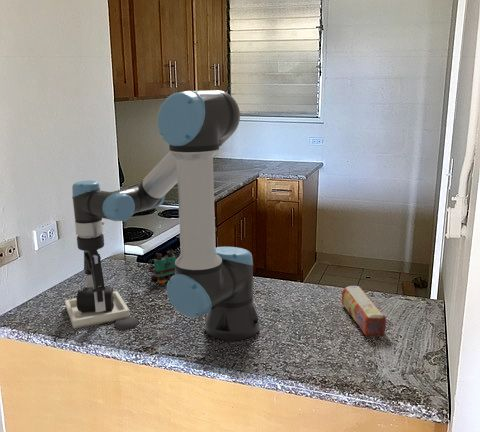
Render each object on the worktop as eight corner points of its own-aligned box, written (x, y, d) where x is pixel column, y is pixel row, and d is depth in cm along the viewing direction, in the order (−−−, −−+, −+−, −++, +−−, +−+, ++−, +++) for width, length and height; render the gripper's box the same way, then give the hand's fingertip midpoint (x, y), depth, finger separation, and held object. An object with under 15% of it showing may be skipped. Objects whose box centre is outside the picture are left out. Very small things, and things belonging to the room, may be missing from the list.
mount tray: (129, 317, 154) (129, 310, 153) (73, 328, 147) (72, 321, 147) (117, 298, 168) (117, 291, 167) (65, 307, 161) (65, 300, 161)
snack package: (387, 337, 140) (388, 314, 138) (363, 338, 140) (364, 315, 138) (361, 304, 161) (362, 284, 159) (340, 305, 160) (341, 285, 158)
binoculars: (163, 246, 189) (178, 249, 181) (166, 274, 190) (181, 279, 183) (141, 251, 183) (156, 255, 175) (145, 280, 185) (159, 285, 177)
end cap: (77, 316, 154) (75, 295, 152) (82, 306, 161) (80, 285, 159) (112, 314, 154) (110, 293, 153) (115, 305, 161) (114, 284, 160)
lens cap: (140, 327, 148) (140, 324, 148) (117, 332, 146) (117, 329, 145) (134, 319, 154) (134, 315, 154) (112, 323, 151) (112, 320, 151)
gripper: (112, 244, 142) (118, 316, 147) (95, 222, 164) (100, 286, 169) (83, 248, 139) (90, 321, 144) (70, 226, 161) (76, 290, 166)
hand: (96, 302), depth 157 cm, fingers open, 13 cm apart
